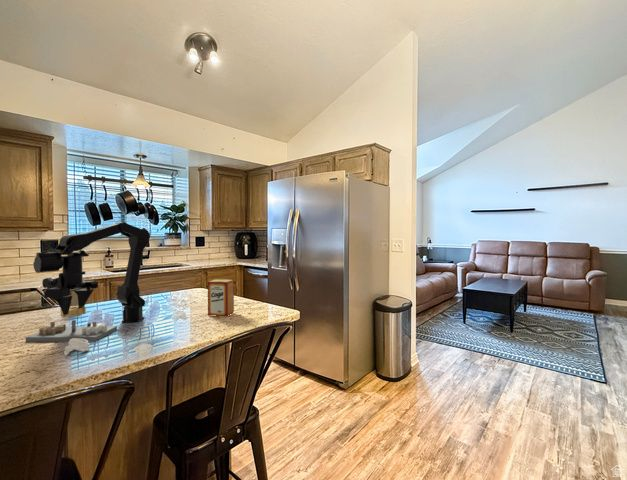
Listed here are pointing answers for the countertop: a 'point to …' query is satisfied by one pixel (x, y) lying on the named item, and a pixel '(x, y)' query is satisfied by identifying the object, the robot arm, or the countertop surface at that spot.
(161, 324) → the countertop surface
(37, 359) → the countertop surface
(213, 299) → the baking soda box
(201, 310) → the countertop surface
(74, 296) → the handle
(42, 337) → the gear board
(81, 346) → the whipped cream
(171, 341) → the countertop surface
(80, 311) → the brass gear
